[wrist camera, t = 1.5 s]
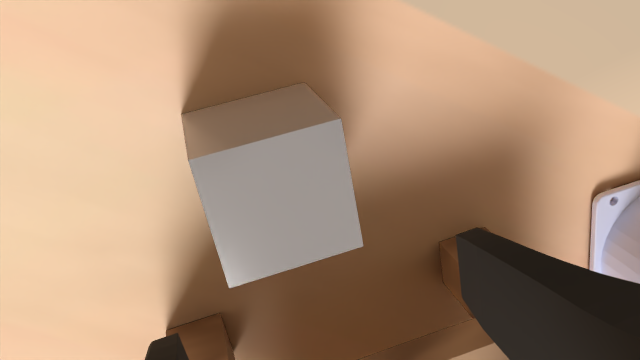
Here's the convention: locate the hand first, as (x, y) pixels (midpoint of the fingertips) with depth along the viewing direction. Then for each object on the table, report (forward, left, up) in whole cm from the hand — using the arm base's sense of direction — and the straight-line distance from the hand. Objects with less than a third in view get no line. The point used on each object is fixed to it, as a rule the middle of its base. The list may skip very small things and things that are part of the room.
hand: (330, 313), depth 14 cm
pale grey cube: (0, 0, -11) cm, 11 cm away
